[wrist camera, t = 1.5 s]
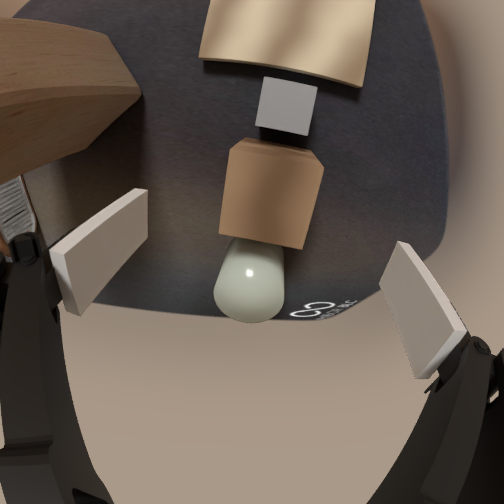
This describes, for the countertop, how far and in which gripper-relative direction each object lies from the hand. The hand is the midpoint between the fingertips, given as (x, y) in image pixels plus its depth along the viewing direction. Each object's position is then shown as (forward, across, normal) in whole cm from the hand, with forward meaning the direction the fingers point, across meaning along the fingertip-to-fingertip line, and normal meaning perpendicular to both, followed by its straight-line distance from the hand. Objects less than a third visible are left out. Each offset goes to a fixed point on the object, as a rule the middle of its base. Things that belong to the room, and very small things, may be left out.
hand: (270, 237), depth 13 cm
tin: (+13, -34, -6) cm, 37 cm away
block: (+13, -20, +7) cm, 25 cm away
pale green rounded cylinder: (+13, 0, -9) cm, 16 cm away
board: (+13, -2, +16) cm, 21 cm away
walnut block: (+13, 0, 0) cm, 13 cm away
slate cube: (+13, 0, +7) cm, 15 cm away
